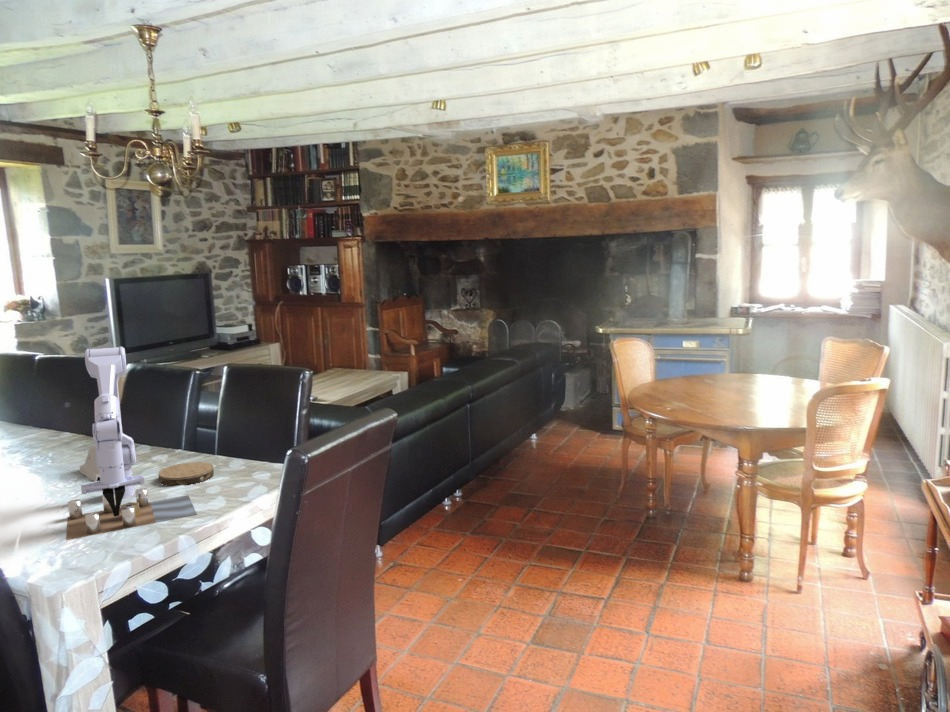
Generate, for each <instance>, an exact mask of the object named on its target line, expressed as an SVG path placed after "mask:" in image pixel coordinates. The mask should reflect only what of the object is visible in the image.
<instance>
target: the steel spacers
mask: <svg viewBox="0 0 950 712" xmlns="http://www.w3.org/2000/svg"><path fill="white" fill-rule="evenodd" d="M134 495H135V502H139V507H146V506H148V505H149V502H150V501H149V491H148V488H147V487H142V488H141V487H140V488H137V489H135V493H134ZM114 501H115V506H116V500H115V494H114ZM67 506H68V507H67V508H68V515H69V516H68V517H70V519H71V520H75V519H79V518H82V517H83V514H84V513H83V508H82V500H81V499H78V498H76V499H71V500H69V501H67ZM102 506H103V510H104V513H113V511H112V509H111V506H110V505H109V503H108V501H107V500H106V498H105V497H104V496H103V495H102ZM121 511H122V521H123V527H132V526H135V525H136V518H135V508H134V507H133V506H128V507H124V508H122V509H121ZM89 513H90V514H87V515H86V516H85V518H86V527H87V534H96V533H99V532H100V531H101V528H100V518H99V513H91V512H89ZM132 528H133V527H132ZM96 535H97V534H96Z"/></svg>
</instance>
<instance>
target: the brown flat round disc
mask: <svg viewBox="0 0 950 712" xmlns="http://www.w3.org/2000/svg"><path fill="white" fill-rule="evenodd" d="M214 470H215V469H214V465H213V464H212V463H208V462H201V461H198V462H197V461H196V462H185V463H179V464H174V465H172V466H168V467H167V466H166V467H165V468H163V469H161V470H160V471H159V473H158V482H160V483H161V484H163V485H162V486H164V485H167V486H166V487H177V486H184V485H187V486H192V485H191V484H193V485H197V484H196V483H198V484H200V482H201V483H205V482H206V480H207V481H208V479H209V480H211V479H212V478H213V477H214V474H215V472H214ZM210 478H211V479H210ZM160 483H159V484H160ZM161 484H160V485H161Z"/></svg>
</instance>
